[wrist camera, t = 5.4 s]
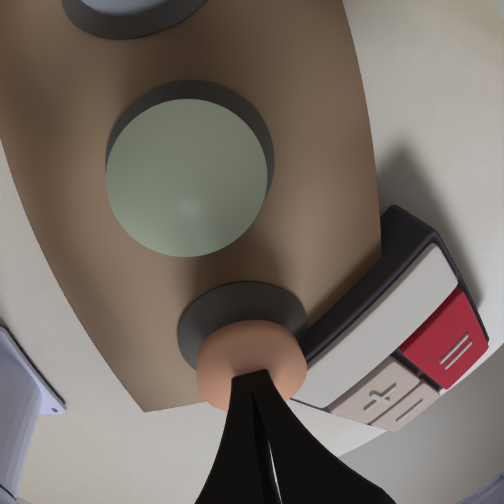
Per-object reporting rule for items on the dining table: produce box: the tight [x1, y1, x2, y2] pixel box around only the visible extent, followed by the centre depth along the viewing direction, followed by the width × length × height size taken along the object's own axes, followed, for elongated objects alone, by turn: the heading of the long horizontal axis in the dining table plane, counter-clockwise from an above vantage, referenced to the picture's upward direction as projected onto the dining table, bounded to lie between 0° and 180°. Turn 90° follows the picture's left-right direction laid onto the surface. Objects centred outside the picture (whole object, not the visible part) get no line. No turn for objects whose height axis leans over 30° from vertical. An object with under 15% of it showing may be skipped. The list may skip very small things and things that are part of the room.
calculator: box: [290, 205, 489, 432], centre depth 18 cm, size 11×4×15 cm
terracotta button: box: [196, 320, 307, 411], centre depth 12 cm, size 4×4×1 cm
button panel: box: [0, 0, 382, 412], centre depth 11 cm, size 14×24×2 cm, turn 13°
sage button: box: [106, 99, 267, 257], centre depth 9 cm, size 4×4×1 cm
